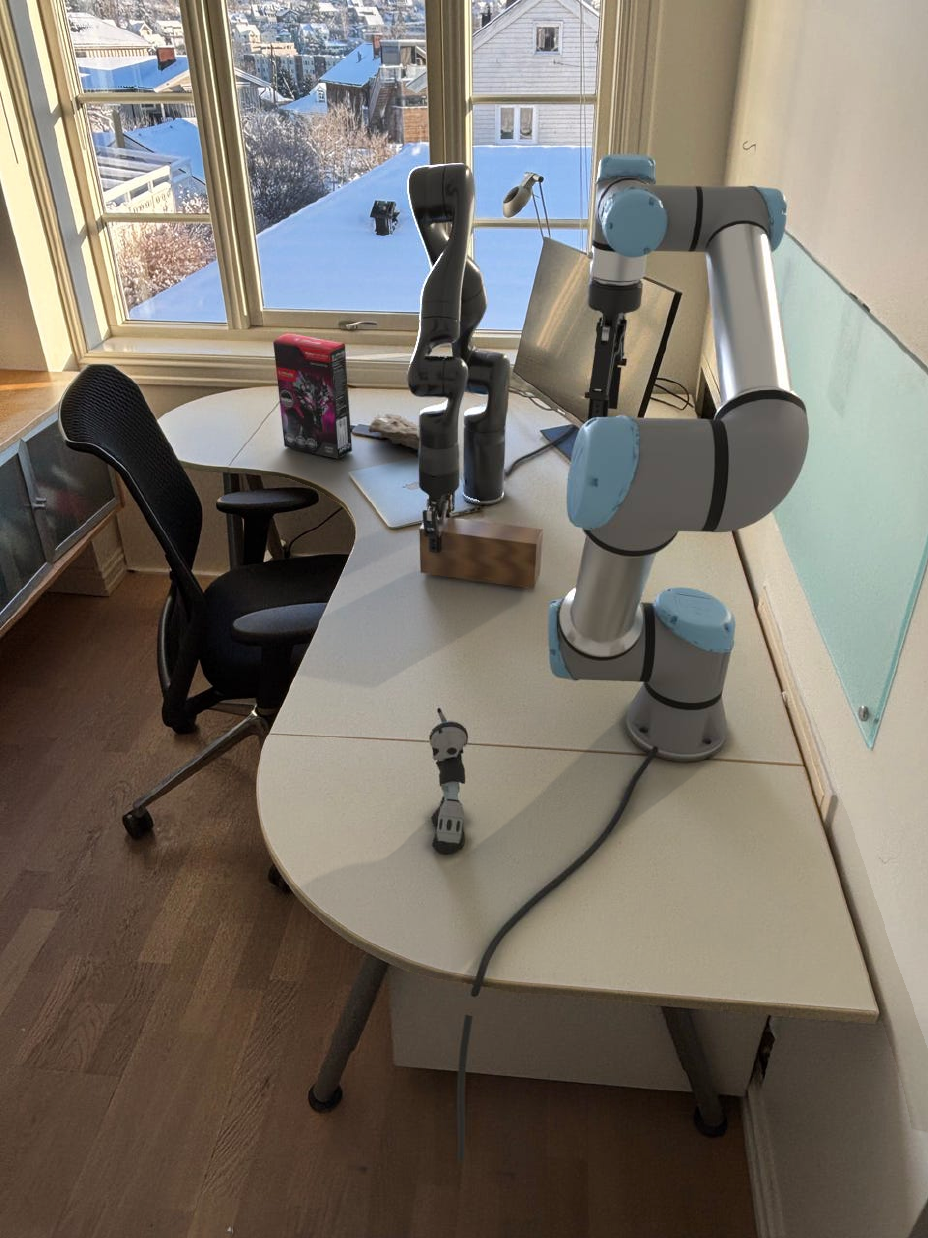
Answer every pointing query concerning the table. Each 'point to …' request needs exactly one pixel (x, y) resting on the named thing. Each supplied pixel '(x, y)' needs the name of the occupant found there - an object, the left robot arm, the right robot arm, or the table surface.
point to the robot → (449, 784)
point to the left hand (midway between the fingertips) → (440, 543)
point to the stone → (396, 429)
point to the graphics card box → (313, 395)
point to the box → (484, 552)
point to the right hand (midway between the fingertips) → (602, 423)
